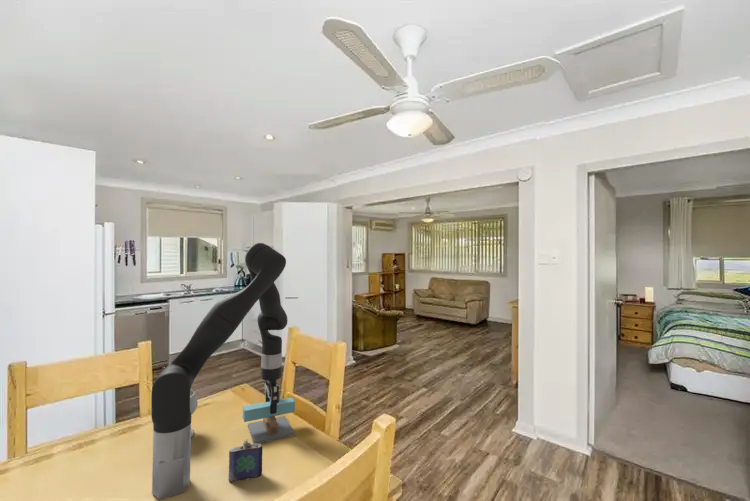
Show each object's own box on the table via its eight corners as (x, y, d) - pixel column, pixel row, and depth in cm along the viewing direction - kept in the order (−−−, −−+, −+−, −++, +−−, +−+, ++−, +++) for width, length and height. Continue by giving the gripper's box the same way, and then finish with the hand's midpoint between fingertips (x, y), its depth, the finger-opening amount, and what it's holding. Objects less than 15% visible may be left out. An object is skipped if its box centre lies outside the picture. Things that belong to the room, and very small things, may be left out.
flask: (228, 483, 100) (229, 445, 100) (228, 477, 103) (229, 440, 103) (262, 477, 103) (263, 441, 103) (262, 471, 106) (262, 436, 106)
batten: (294, 412, 132) (295, 401, 132) (244, 422, 123) (244, 410, 123) (292, 407, 135) (292, 397, 135) (242, 417, 127) (242, 406, 127)
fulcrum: (294, 435, 127) (294, 418, 127) (253, 444, 120) (254, 426, 120) (284, 418, 139) (285, 403, 139) (247, 426, 132) (247, 410, 132)
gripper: (286, 369, 125) (285, 414, 125) (277, 358, 138) (276, 399, 138) (264, 372, 121) (264, 419, 121) (257, 360, 134) (256, 403, 134)
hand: (270, 408), depth 129 cm, fingers open, 8 cm apart
